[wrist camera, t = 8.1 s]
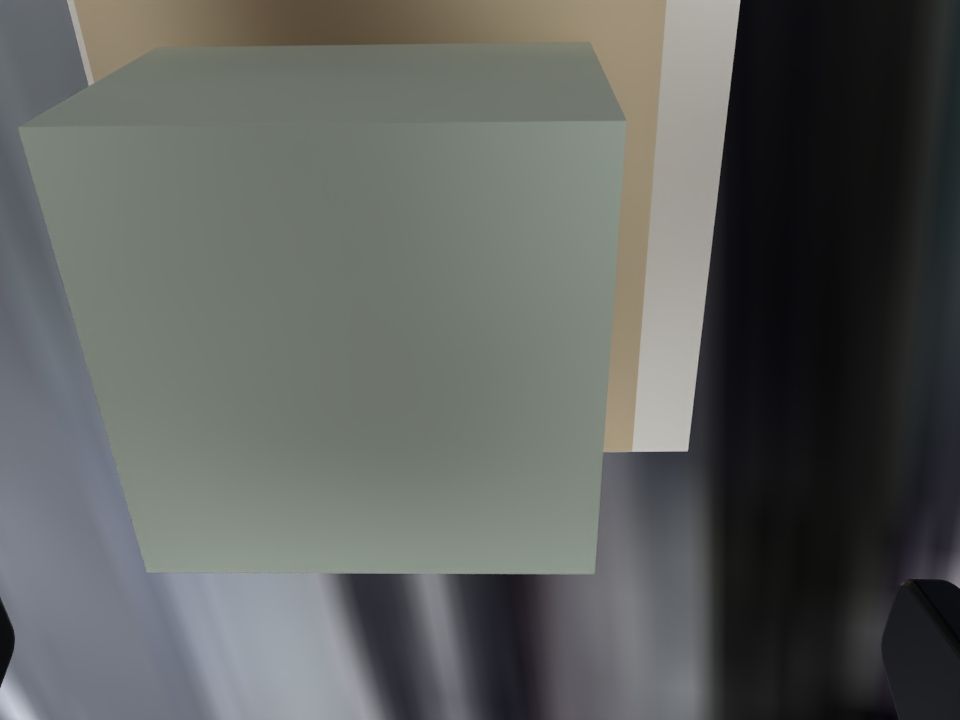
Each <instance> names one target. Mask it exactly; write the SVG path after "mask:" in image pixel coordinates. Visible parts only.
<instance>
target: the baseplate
mask: <svg viewBox="0 0 960 720" xmlns="http://www.w3.org/2000/svg"><path fill="white" fill-rule="evenodd" d="M67 3H68V7H69V11H70V15H71V18H72V22H73V26H74V30H75V34H76V38H77V42H78V46H79V50H80V54H81V58H82V62H83V66H84V70H85V73H86V77H87V81H88V85H89V86H90V85H92V84H94V80H93V76H92V72H91V68H90V64H89V60H88V56H87V52H86V48H85V44H84V40H83V36H82V32H81V28H80V24H79V20H78V16H77V12H76V8H75V4H74V0H67ZM739 7H740V0H667V1H666V14H665V27H664V40H663V53H662V66H661V79H660V93H659V106H658V119H657V132H656V145H655V158H654V171H653V184H652V197H651V210H650V224H649V237H648V250H647V263H646V276H645V289H644V302H643V315H642V328H641V341H640V354H639V368H638V381H637V394H636V407H635V420H634V433H633V446H632V451H623V452H665V451H688V445H689V436H690V428H691V419H692V411H693V402H694V393H695V385H696V376H697V368H698V359H699V351H700V342H701V333H702V325H703V316H704V308H705V299H706V290H707V282H708V273H709V265H710V256H711V248H712V239H713V230H714V222H715V213H716V205H717V196H718V188H719V179H720V170H721V162H722V153H723V145H724V136H725V128H726V119H727V110H728V102H729V93H730V85H731V76H732V68H733V59H734V50H735V42H736V33H737V25H738V16H739Z"/></svg>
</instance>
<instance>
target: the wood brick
mask: <svg viewBox="0 0 960 720" xmlns="http://www.w3.org/2000/svg"><path fill="white" fill-rule="evenodd" d="M666 1H667V0H74V4H75V8H76V12H77V16H78V20H79V24H80V28H81V32H82V36H83V40H84V44H85V48H86V52H87V56H88V60H89V64H90V68H91V72H92V76H93V80H94V83H95V82H97V81H99V80H101V79H102V78H104V77H106V76H108V75H109V74H111V73H113V72H115V71H116V70H118V69H120V68H122V67H123V66H125V65H127V64H129V63H130V62H132V61H134V60H135V59H137V58H139V57H141V56H142V55H144V54H146V53H148V52H149V51H151V50H153V49H155V48H156V47H222V46H300V45H379V44H457V43H536V42H590V43H591V45H592V47H593V49H594V51H595V53H596V56H597V58H598V60H599V62H600V64H601V66H602V69H603V71H604V73H605V75H606V77H607V79H608V82H609V84H610V86H611V88H612V90H613V92H614V95H615V97H616V99H617V101H618V103H619V105H620V107H621V110H622V112H623V114H624V116H625V118H626V120H627V123H626V137H625V151H624V165H623V179H622V193H621V208H620V222H619V236H618V250H617V264H616V278H615V293H614V307H613V321H612V335H611V349H610V363H609V378H608V392H607V406H606V420H605V434H604V448H603V452H623V451H632V446H633V433H634V420H635V407H636V394H637V381H638V368H639V354H640V341H641V328H642V315H643V302H644V289H645V276H646V263H647V250H648V237H649V224H650V210H651V197H652V184H653V171H654V158H655V145H656V132H657V119H658V106H659V93H660V79H661V66H662V53H663V40H664V27H665V14H666Z"/></svg>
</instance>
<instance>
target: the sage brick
mask: <svg viewBox="0 0 960 720" xmlns="http://www.w3.org/2000/svg"><path fill="white" fill-rule="evenodd" d="M626 123H627V120H626V118H625V116H624V114H623V112H622V110H621V107H620V105H619V103H618V101H617V99H616V97H615V95H614V92H613V90H612V88H611V86H610V84H609V82H608V79H607V77H606V75H605V73H604V71H603V69H602V66H601V64H600V62H599V60H598V58H597V56H596V53H595V51H594V49H593V47H592V45H591V43H590V42H536V43H457V44H379V45H300V46H222V47H156V48H155V49H153V50H151V51H149V52H148V53H146V54H144V55H142V56H141V57H139V58H137V59H135V60H134V61H132V62H130V63H129V64H127V65H125V66H123V67H122V68H120V69H118V70H116V71H115V72H113V73H111V74H109V75H108V76H106V77H104V78H102V79H101V80H99V81H97V82H95V83H94V84H92V85H90V86H88V87H87V88H85V89H83V90H81V91H80V92H78V93H76V94H74V95H73V96H71V97H69V98H67V99H66V100H64V101H62V102H60V103H59V104H57V105H55V106H53V107H52V108H50V109H48V110H46V111H45V112H43V113H41V114H39V115H38V116H36V117H34V118H32V119H31V120H29V121H27V122H25V123H24V124H22V125H20V126H18V131H19V134H20V137H21V141H22V144H23V148H24V151H25V155H26V158H27V162H28V165H29V168H30V172H31V175H32V179H33V182H34V186H35V189H36V193H37V196H38V199H39V203H40V206H41V210H42V213H43V217H44V220H45V224H46V227H47V230H48V234H49V237H50V241H51V244H52V248H53V251H54V255H55V258H56V261H57V265H58V268H59V272H60V275H61V279H62V282H63V286H64V289H65V292H66V296H67V299H68V303H69V306H70V310H71V313H72V316H73V320H74V323H75V327H76V330H77V334H78V337H79V341H80V344H81V347H82V351H83V354H84V358H85V361H86V365H87V368H88V372H89V375H90V378H91V382H92V385H93V389H94V392H95V396H96V399H97V403H98V406H99V409H100V413H101V416H102V420H103V423H104V427H105V430H106V434H107V437H108V440H109V444H110V447H111V451H112V454H113V458H114V461H115V465H116V468H117V471H118V475H119V478H120V482H121V485H122V489H123V492H124V496H125V499H126V502H127V506H128V509H129V513H130V516H131V520H132V523H133V527H134V530H135V533H136V537H137V540H138V544H139V547H140V551H141V554H142V558H143V561H144V564H145V568H146V571H147V573H392V574H595V562H596V548H597V533H598V519H599V505H600V491H601V477H602V463H603V448H604V434H605V420H606V406H607V392H608V378H609V363H610V349H611V335H612V321H613V307H614V293H615V278H616V264H617V250H618V236H619V222H620V208H621V193H622V179H623V165H624V151H625V137H626Z"/></svg>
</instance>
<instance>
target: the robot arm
mask: <svg viewBox="0 0 960 720" xmlns="http://www.w3.org/2000/svg"><path fill="white" fill-rule="evenodd" d="M14 644H15V636H14V629H13V626H12V624H11V621H10V619H9V617H8V614H7V612H6V610H5V607H4V605H3V602H2V600H1V598H0V687H1V684H2V682H3V679H4V676H5V674H6V671H7V668H8V666H9V663H10V660H11V657H12V654H13V650H14ZM881 653H882V660H883V664H884V668H885V672H886V675H887V679H888V682H889V686H890V690H891V693H892V697H893V700H894V704H895V708H896V711H897V715H898V718H899V720H960V589H959V588H958V587H957V586H955V585H954V584H952V583H950V582H948V581H945V580H930V579H909V580H905V581H903V582H902V583H901V584H900V585H899V586H898V589H897V591H896V594H895V597H894V600H893V603H892V607H891V610H890V613H889V616H888V619H887V623H886V626H885V629H884V632H883V636H882V642H881Z"/></svg>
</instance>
